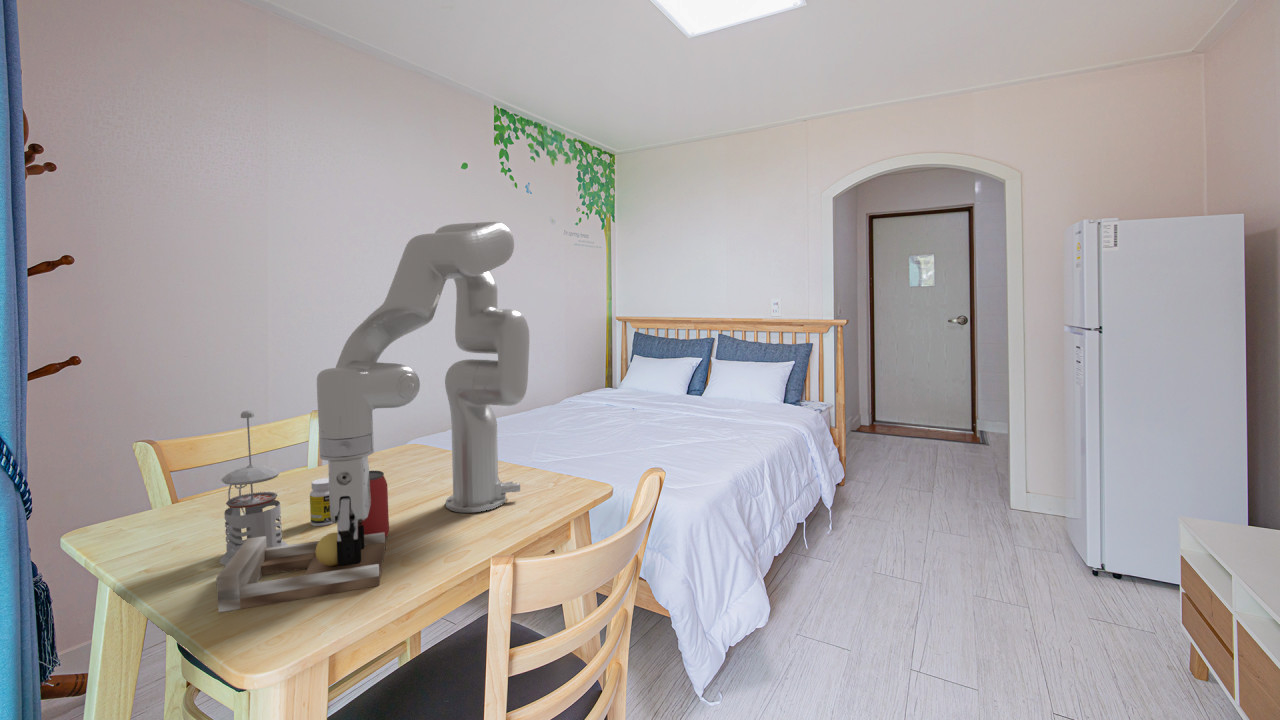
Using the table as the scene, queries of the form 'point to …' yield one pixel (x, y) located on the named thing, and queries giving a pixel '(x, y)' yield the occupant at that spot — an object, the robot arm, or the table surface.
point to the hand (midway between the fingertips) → (351, 555)
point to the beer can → (377, 505)
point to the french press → (251, 507)
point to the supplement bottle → (320, 503)
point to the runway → (256, 560)
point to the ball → (327, 550)
